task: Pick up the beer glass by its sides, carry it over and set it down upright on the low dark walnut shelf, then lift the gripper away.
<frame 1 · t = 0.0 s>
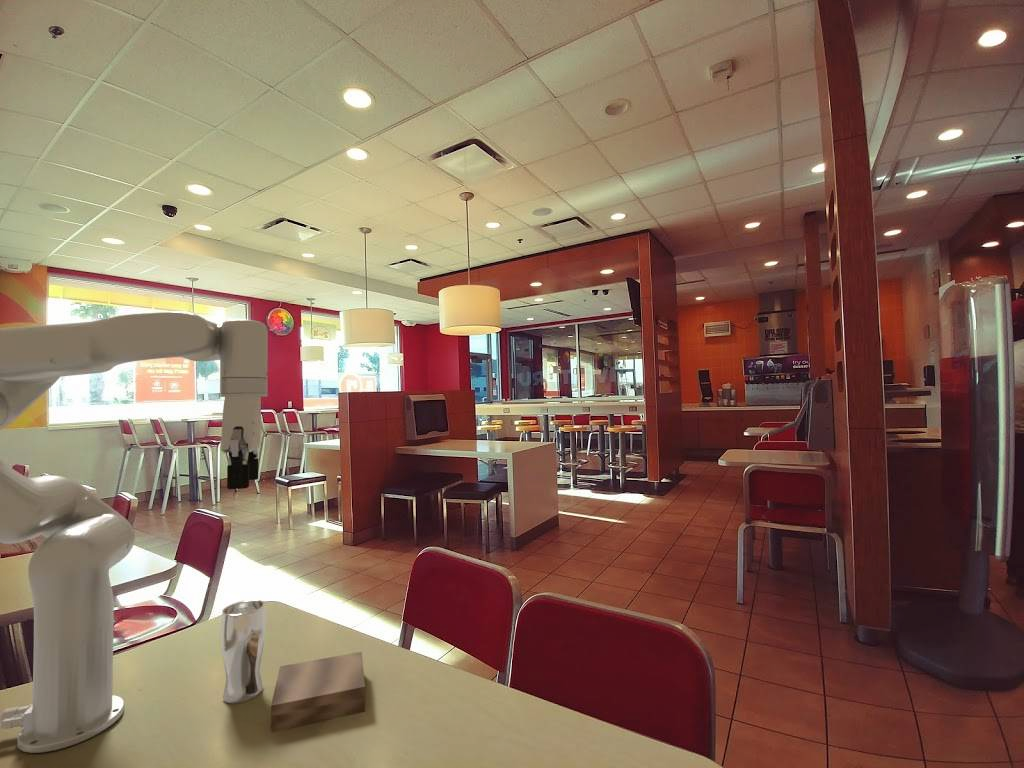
hand: (243, 484, 86), 37 cm above the table, tool pointing down, fingers open, 9 cm apart
walnut shelf: (320, 699, 83), on the table
beer glass: (243, 694, 85), on the table
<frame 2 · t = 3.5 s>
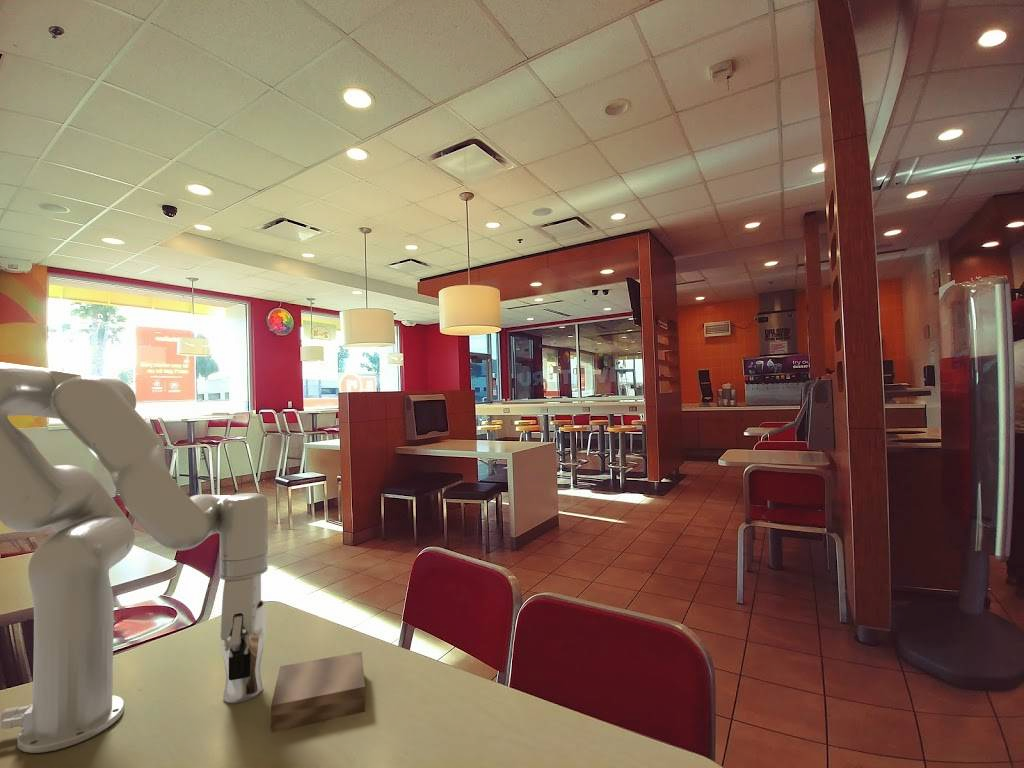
hand: (243, 666, 85), 5 cm above the table, tool pointing down, fingers closed on beer glass, 6 cm apart
beer glass: (243, 694, 85), on the table, touching gripper
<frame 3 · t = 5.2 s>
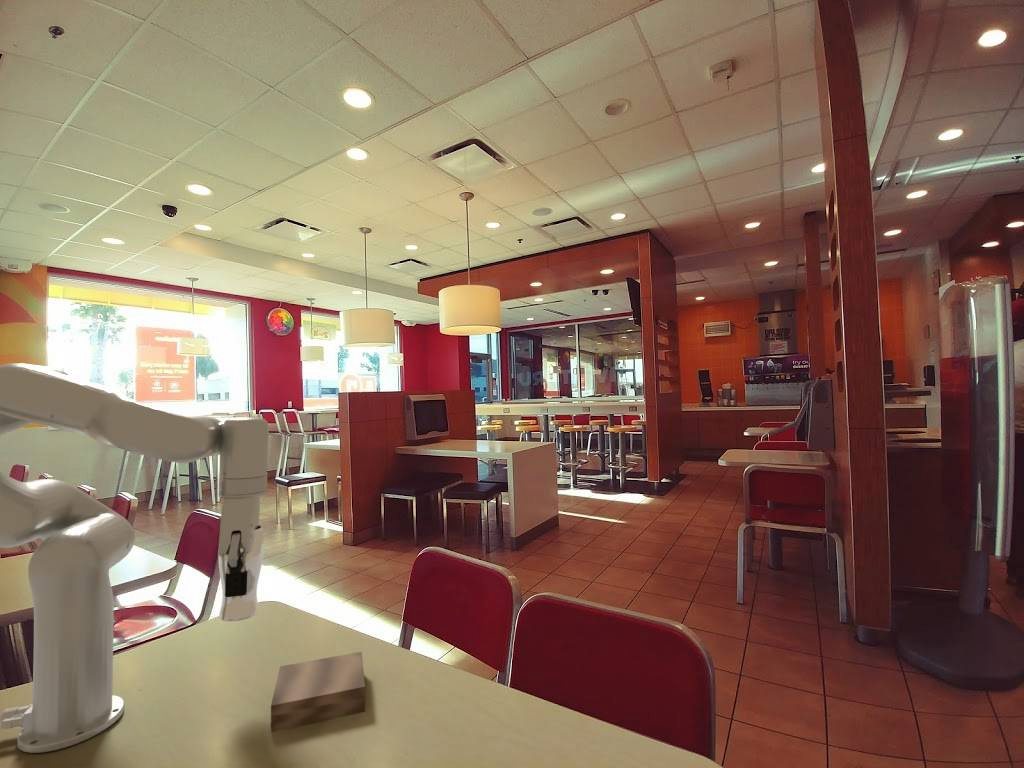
hand: (239, 587, 86), 18 cm above the table, tool pointing down, fingers closed on beer glass, 6 cm apart
beer glass: (239, 615, 85), point 14 cm above the table, touching gripper
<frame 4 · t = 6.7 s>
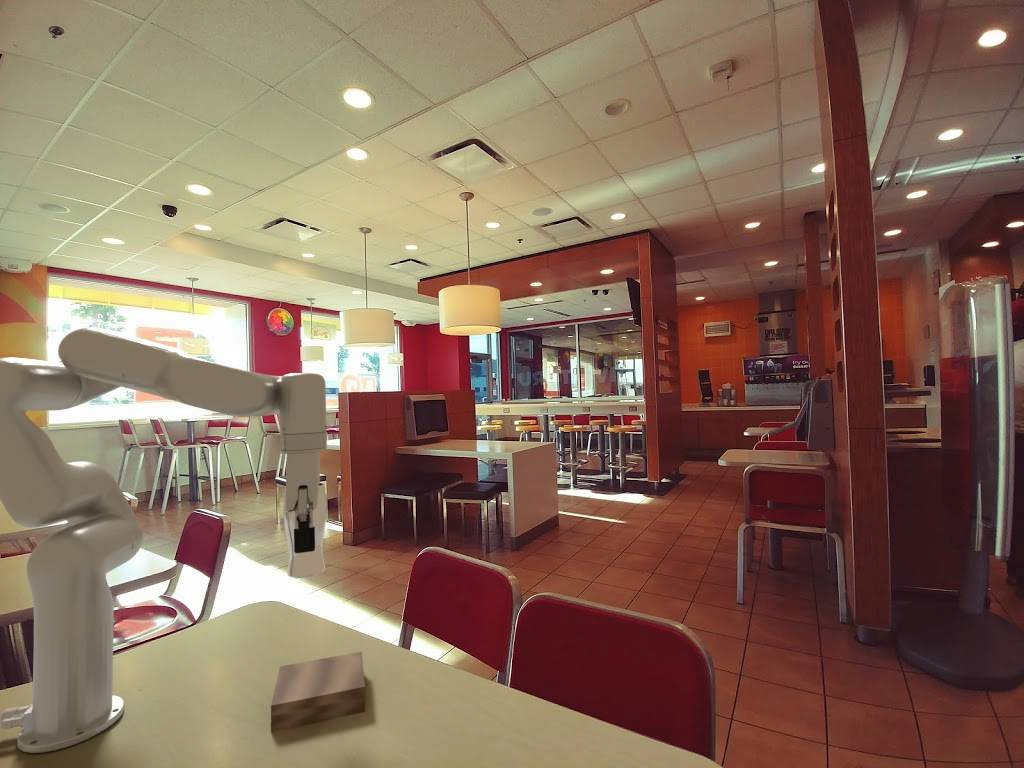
hand: (305, 545, 84), 26 cm above the table, tool pointing down, fingers closed on beer glass, 6 cm apart
beer glass: (306, 572, 84), point 21 cm above the table, touching gripper
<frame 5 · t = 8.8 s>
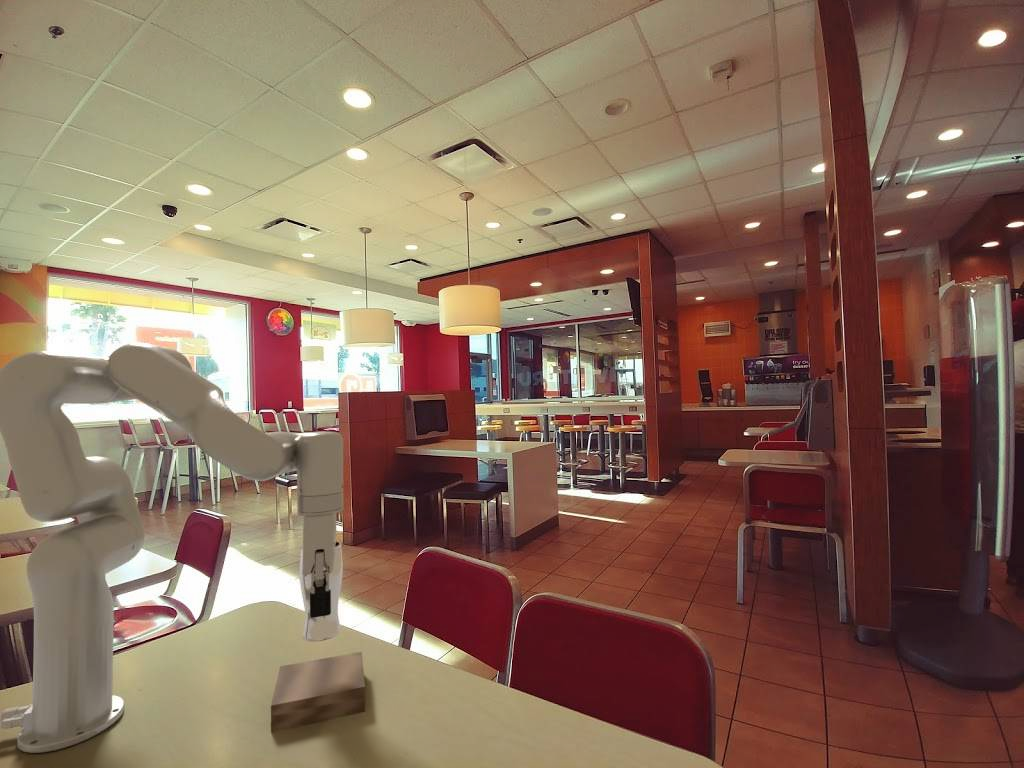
hand: (321, 606, 83), 16 cm above the table, tool pointing down, fingers closed on beer glass, 6 cm apart
beer glass: (321, 634, 83), point 11 cm above the table, touching gripper
when the fingers open (10 cm above the table, at t = 10.4 s): beer glass drops 1 cm, resting on walnut shelf.
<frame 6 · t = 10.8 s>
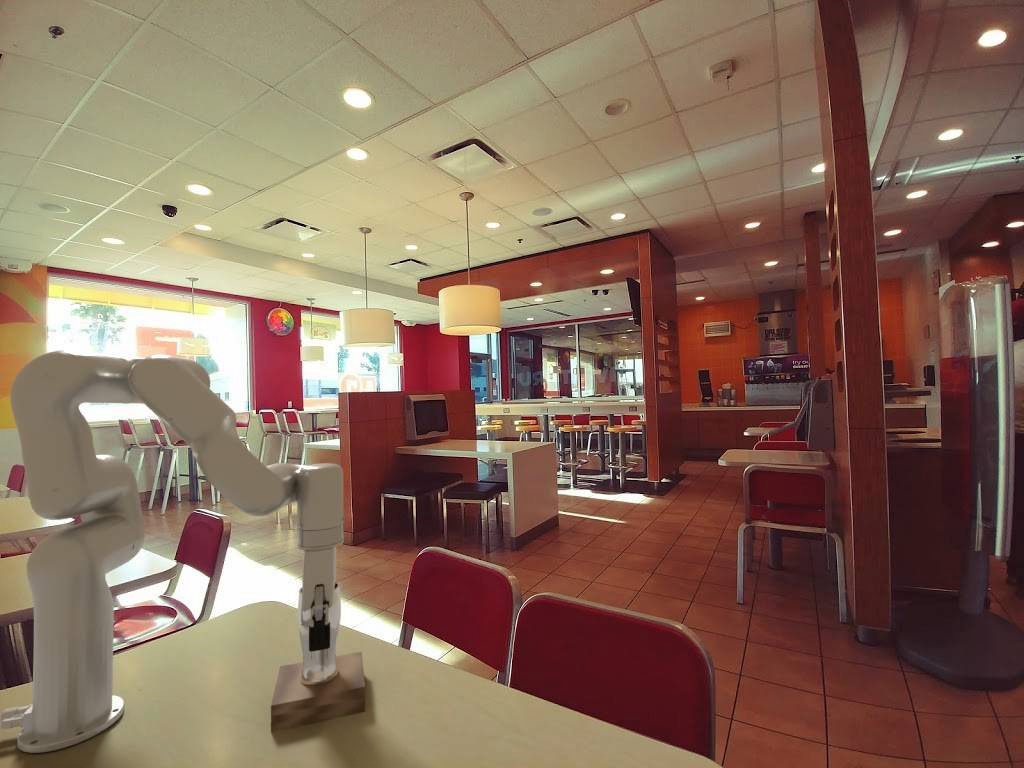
hand: (320, 635, 83), 11 cm above the table, tool pointing down, fingers open, 9 cm apart
beer glass: (319, 677, 83), point 4 cm above the table, touching walnut shelf
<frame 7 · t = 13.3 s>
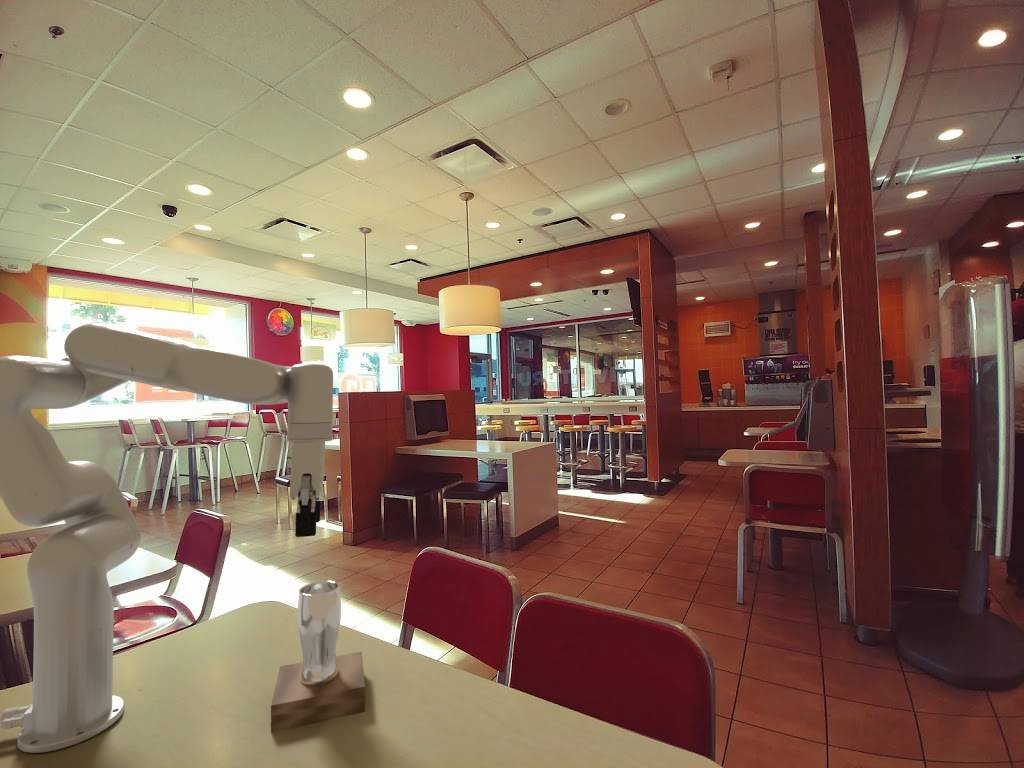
hand: (308, 528, 86), 29 cm above the table, tool pointing down, fingers open, 9 cm apart
nothing on the table moved.
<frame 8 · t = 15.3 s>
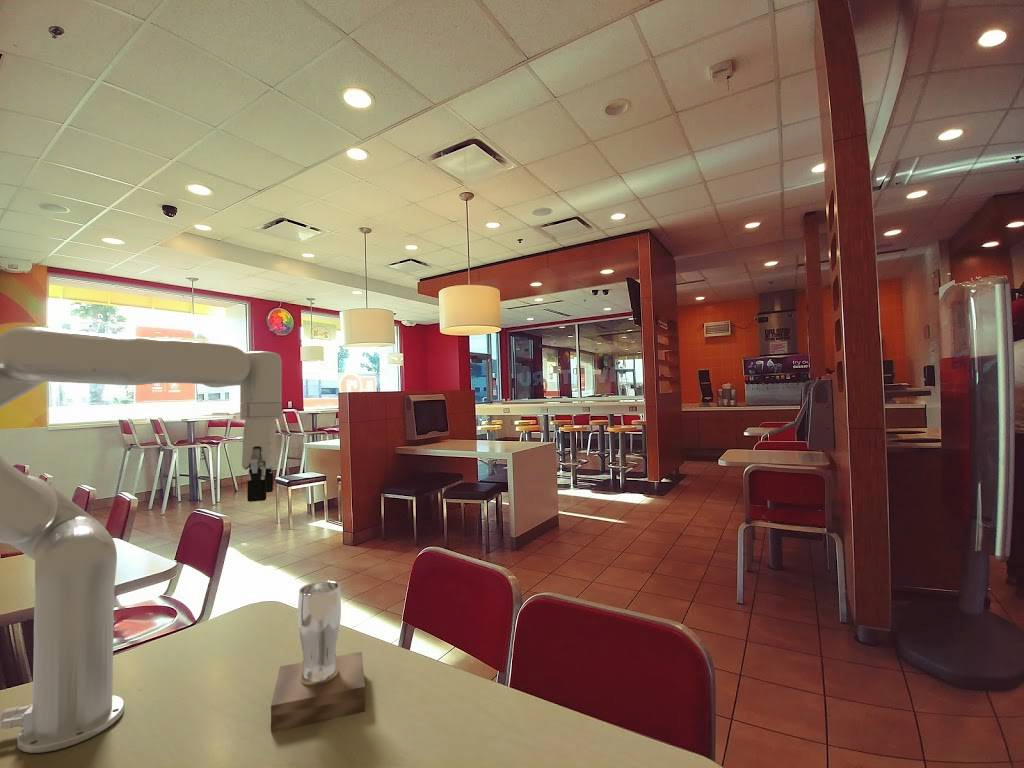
hand: (260, 496, 98), 32 cm above the table, tool pointing down, fingers open, 9 cm apart
nothing on the table moved.
at the end: beer glass inside the target area on the walnut shelf (0.2 cm from its centre), point 3.8 cm above the walnut shelf's base; beer glass tilted 0°; the gripper is holding nothing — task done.
